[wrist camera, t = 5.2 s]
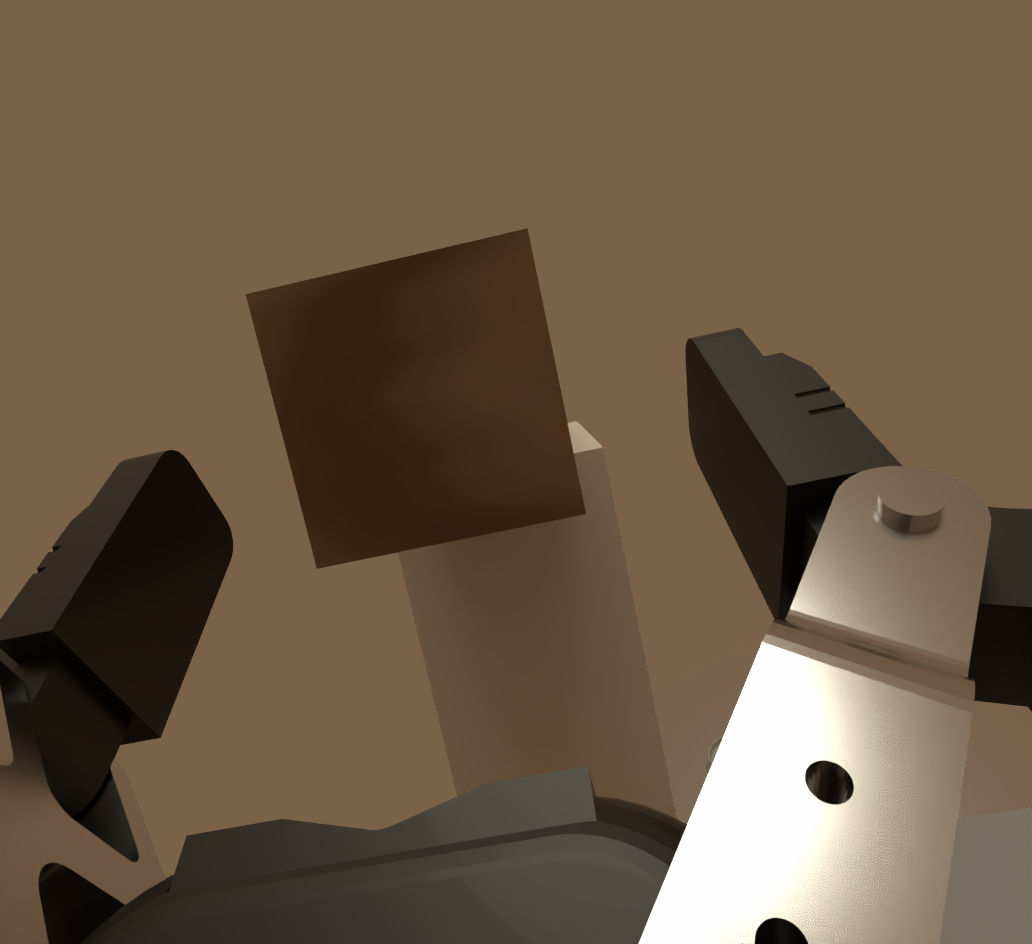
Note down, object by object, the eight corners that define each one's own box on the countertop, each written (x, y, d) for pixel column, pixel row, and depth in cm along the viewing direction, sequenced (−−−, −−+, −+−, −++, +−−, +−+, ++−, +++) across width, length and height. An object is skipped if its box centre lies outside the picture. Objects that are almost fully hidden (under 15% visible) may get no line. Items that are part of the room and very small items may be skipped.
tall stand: (599, 1460, 21) (360, 500, 17) (576, 1031, 35) (441, 449, 31) (818, 1437, 20) (624, 444, 17) (706, 1011, 34) (586, 418, 30)
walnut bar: (317, 568, 9) (245, 294, 9) (473, 441, 31) (455, 359, 31) (586, 514, 9) (527, 228, 9) (555, 424, 31) (537, 341, 31)
